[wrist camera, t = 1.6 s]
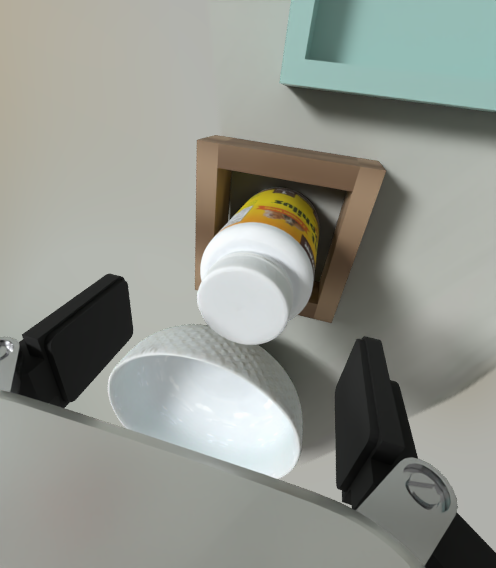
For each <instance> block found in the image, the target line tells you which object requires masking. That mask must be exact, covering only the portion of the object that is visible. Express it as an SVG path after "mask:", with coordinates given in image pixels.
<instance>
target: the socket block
mask: <svg viewBox="0 0 496 568" xmlns="http://www.w3.org/2000/svg"><path fill="white" fill-rule="evenodd" d="M232 170H233V171H239V172H244V173H250V174H256V175H261V176H267V177H273V178H278V179H284V180H290V181H295V182H301V183H306V184H312V185H318V186H323V187H329V188H335V189H340V190H346V195H345V198H344V201H343V205H342V208H341V211H340V215H339V218H338V221H337V225H336V228H335V231H334V235H333V238H332V242H331V245H330V248H329V252H328V255H327V258H326V262H325V265H324V268H323V272H322V275H321V279H320V282H319V281H314V283H313V288H312V293H311V296H310V298H309V301H308V302H307V304H306V306H305V307H304V309H303V310H302V311H301V312H300V313H299V314H298V315H300V316H304V317H309V318H313V319H317V320H321V321H325V322H329V323H332V320H333V318H334V315H335V312H336V309H337V306H338V304H339V301H340V298H341V295H342V292H343V290H344V287H345V284H346V281H347V279H348V276H349V273H350V270H351V267H352V265H353V262H354V259H355V256H356V253H357V251H358V248H359V245H360V242H361V240H362V237H363V234H364V231H365V228H366V226H367V223H368V220H369V217H370V215H371V212H372V209H373V206H374V203H375V201H376V198H377V195H378V192H379V189H380V187H381V184H382V181H383V178H384V176H385V173H386V170H385V169H384V167H383V166H382V165H381V164H380V162H379V161H375V160H368V159H362V158H356V157H350V156H343V155H337V154H331V153H324V152H318V151H312V150H306V149H299V148H293V147H287V146H280V145H274V144H268V143H262V142H255V141H249V140H243V139H237V138H230V137H224V136H218V135H214V136H210V137H206V138H202V139H199V140H197V170H196V178H197V179H196V248H195V249H196V250H195V251H196V253H195V290H198V289H199V286H200V284H201V282H202V281H201V275H200V266H201V260H202V256H203V253H204V251H205V249H206V247H207V246H208V244H209V243H210V241H211V240H212V239H213V238H214V237H215V235H216V234H217V233H218V232H219V231H220V230H221V229H222V228H223V227H224V226H225V225H226V224H227V223H228V214H229V201H230V188H231V175H232Z"/></svg>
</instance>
